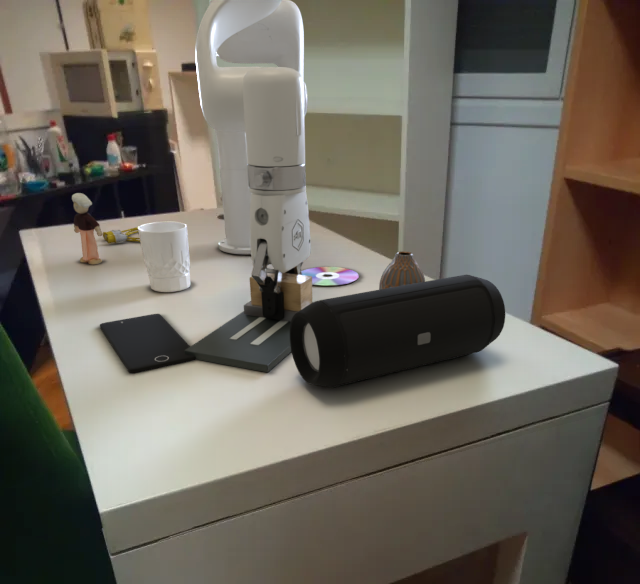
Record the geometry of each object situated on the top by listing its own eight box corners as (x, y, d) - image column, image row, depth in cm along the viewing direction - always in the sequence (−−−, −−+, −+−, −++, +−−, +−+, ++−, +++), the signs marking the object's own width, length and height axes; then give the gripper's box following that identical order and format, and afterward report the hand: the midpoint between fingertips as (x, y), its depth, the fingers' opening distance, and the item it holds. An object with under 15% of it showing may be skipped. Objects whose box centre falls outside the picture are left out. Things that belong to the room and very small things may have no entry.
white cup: (183, 295, 98) (175, 233, 93) (139, 292, 99) (128, 231, 94) (201, 280, 104) (194, 222, 99) (159, 278, 106) (150, 220, 101)
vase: (427, 305, 93) (432, 249, 88) (418, 321, 87) (423, 261, 82) (384, 301, 94) (386, 245, 90) (373, 316, 89) (375, 257, 84)
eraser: (244, 314, 87) (241, 277, 84) (260, 304, 91) (258, 268, 88) (306, 324, 83) (305, 286, 80) (320, 312, 87) (320, 275, 84)
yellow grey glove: (105, 233, 136) (104, 224, 135) (175, 229, 139) (174, 220, 138) (101, 246, 125) (99, 236, 124) (177, 241, 129) (176, 232, 128)
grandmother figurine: (70, 262, 115) (54, 193, 108) (84, 257, 118) (69, 190, 111) (102, 266, 112) (88, 196, 106) (115, 261, 115) (102, 192, 109)
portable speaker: (324, 407, 65) (324, 320, 60) (287, 372, 73) (284, 293, 67) (503, 361, 75) (516, 283, 70) (454, 334, 82) (462, 263, 77)
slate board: (263, 303, 94) (263, 297, 93) (334, 313, 90) (334, 307, 89) (185, 357, 77) (184, 349, 76) (267, 372, 72) (267, 364, 72)
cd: (372, 277, 105) (372, 276, 105) (323, 290, 99) (323, 289, 99) (331, 263, 113) (331, 263, 113) (283, 274, 107) (283, 274, 107)
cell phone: (130, 377, 73) (129, 370, 72) (100, 329, 86) (98, 323, 86) (199, 362, 76) (198, 355, 76) (159, 318, 90) (159, 312, 89)
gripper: (273, 191, 69) (279, 336, 79) (328, 171, 83) (328, 297, 92) (218, 187, 72) (230, 328, 81) (280, 168, 85) (284, 291, 95)
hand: (282, 310), depth 87 cm, fingers closed on eraser, 5 cm apart
